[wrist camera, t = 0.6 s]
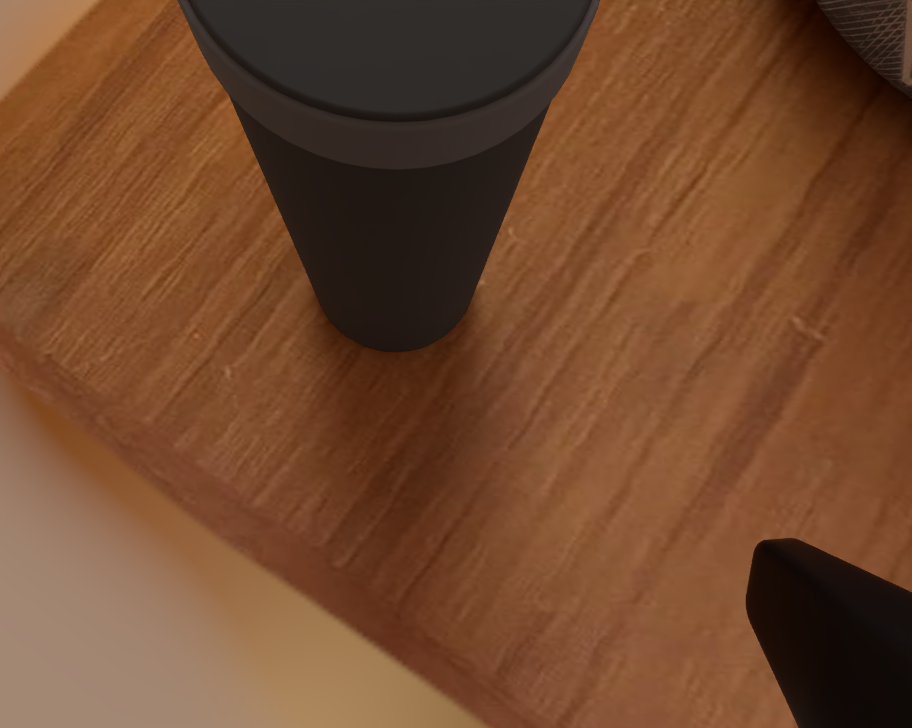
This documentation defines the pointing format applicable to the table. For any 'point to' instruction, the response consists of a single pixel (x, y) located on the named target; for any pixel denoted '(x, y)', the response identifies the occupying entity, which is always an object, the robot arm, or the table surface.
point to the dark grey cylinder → (392, 138)
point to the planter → (877, 35)
